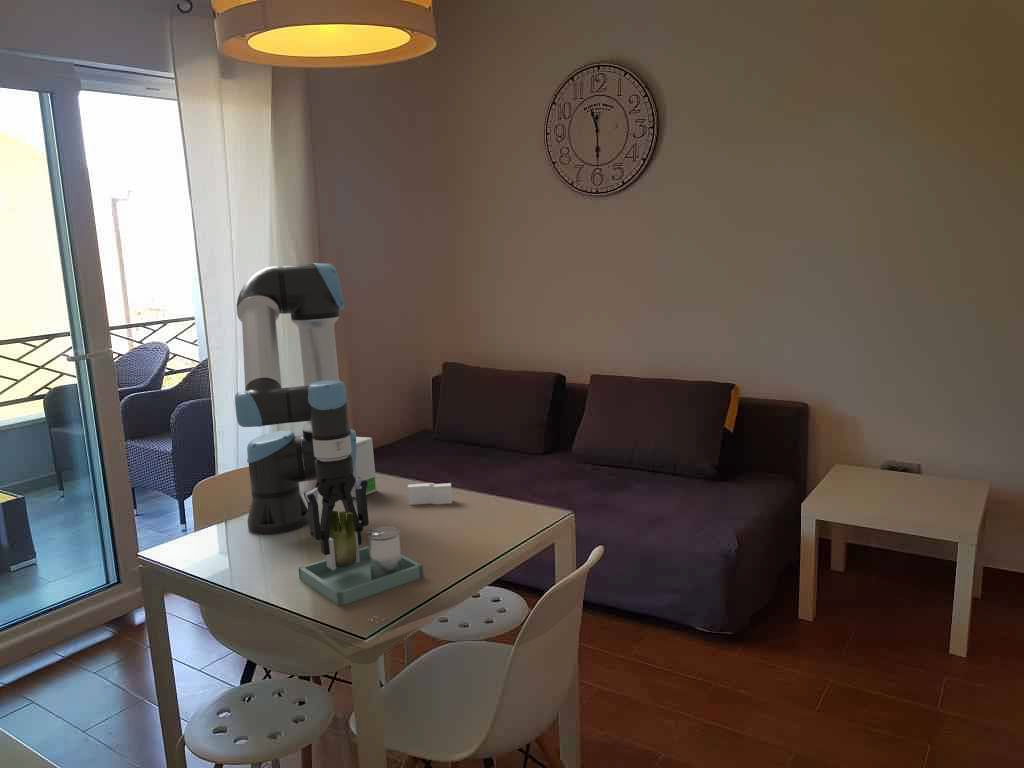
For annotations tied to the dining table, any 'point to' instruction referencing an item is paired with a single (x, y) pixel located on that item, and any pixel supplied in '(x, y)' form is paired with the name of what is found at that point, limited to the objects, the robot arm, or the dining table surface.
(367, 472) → the skincare box
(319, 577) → the tray
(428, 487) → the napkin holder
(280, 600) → the dining table surface
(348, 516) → the fennel bulb
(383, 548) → the can
